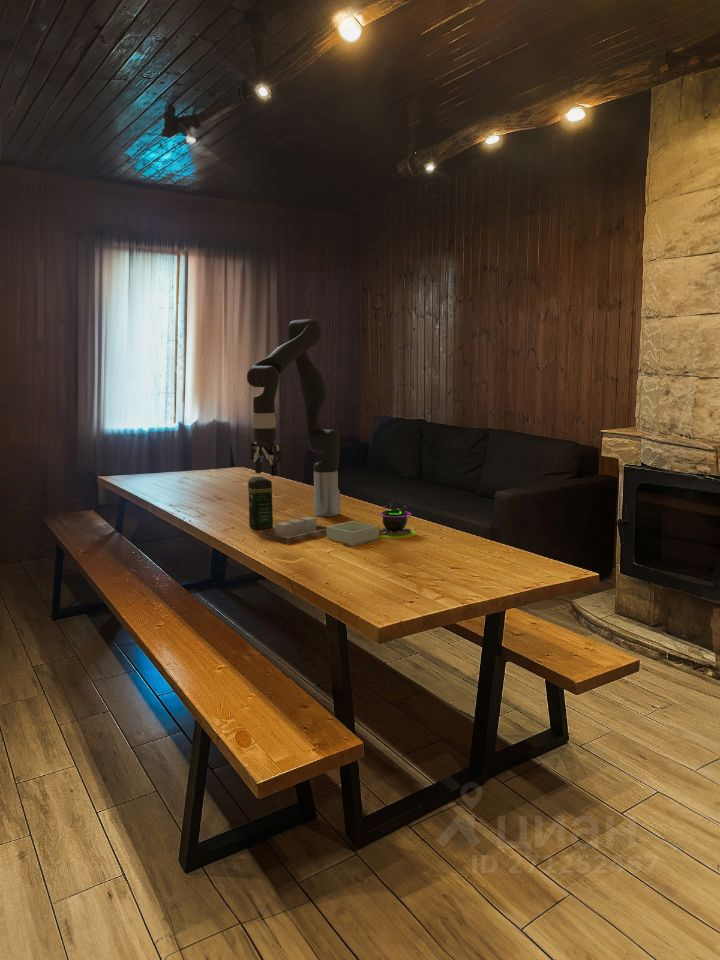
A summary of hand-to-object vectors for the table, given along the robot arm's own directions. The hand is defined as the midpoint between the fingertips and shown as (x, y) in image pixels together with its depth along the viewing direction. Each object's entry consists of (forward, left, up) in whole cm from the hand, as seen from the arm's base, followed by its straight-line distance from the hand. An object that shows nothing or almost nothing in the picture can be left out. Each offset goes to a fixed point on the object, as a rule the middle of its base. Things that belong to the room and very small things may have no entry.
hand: (266, 474), depth 238 cm
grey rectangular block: (-11, +9, -21) cm, 25 cm away
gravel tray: (-5, +9, -21) cm, 23 cm away
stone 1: (0, +9, -21) cm, 22 cm away
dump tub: (-15, +26, -21) cm, 37 cm away
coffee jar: (-5, -10, -22) cm, 24 cm away
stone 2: (-5, +9, -21) cm, 23 cm away
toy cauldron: (-32, +30, -22) cm, 49 cm away
